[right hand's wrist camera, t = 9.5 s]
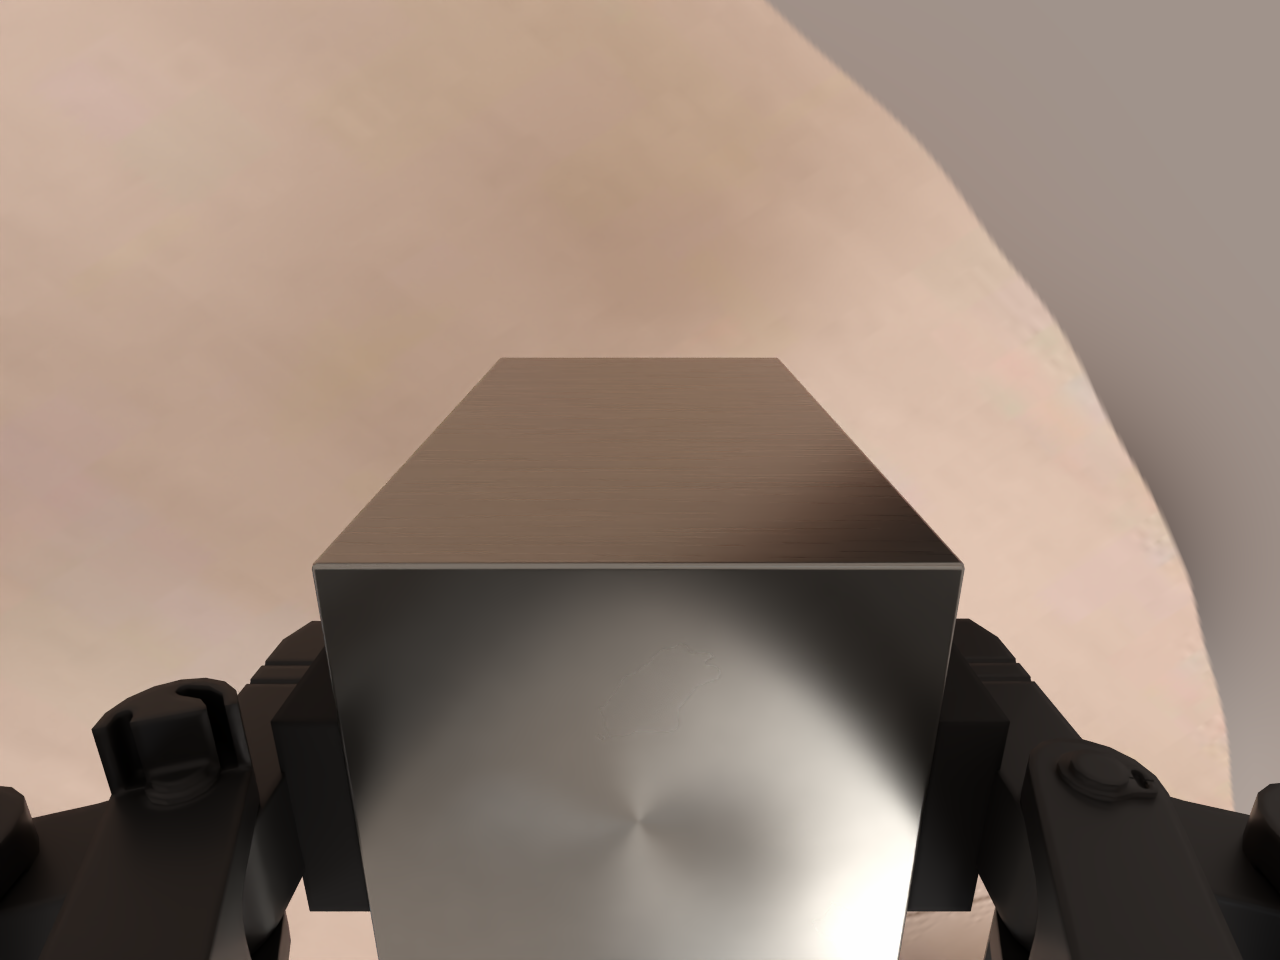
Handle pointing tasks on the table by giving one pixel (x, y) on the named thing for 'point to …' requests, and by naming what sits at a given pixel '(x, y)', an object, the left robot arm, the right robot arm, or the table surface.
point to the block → (638, 673)
